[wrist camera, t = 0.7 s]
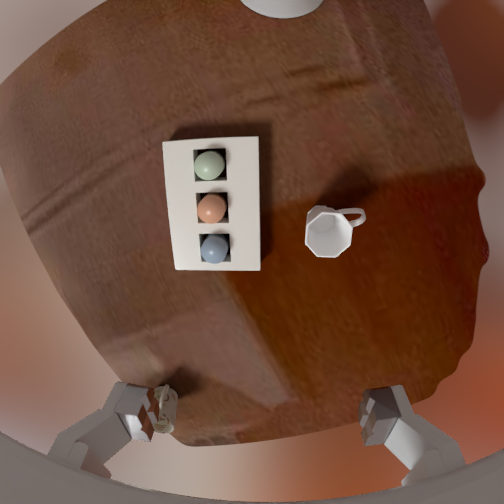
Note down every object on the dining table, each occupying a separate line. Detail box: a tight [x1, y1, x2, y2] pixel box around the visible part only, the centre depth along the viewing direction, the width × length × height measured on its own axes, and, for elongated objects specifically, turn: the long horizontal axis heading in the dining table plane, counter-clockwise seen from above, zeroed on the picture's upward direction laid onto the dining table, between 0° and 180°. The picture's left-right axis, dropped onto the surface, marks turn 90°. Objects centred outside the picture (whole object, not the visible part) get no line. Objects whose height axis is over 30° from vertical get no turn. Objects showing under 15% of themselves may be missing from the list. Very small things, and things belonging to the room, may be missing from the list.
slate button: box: [201, 234, 229, 264], centre depth 47 cm, size 4×4×3 cm
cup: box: [305, 205, 366, 257], centre depth 44 cm, size 7×10×8 cm
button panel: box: [162, 136, 261, 270], centre depth 46 cm, size 21×14×3 cm
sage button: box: [194, 151, 225, 180], centre depth 42 cm, size 4×4×3 cm
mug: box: [153, 384, 178, 433], centre depth 62 cm, size 8×13×10 cm, turn 166°
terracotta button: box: [197, 193, 227, 224], centre depth 45 cm, size 4×4×3 cm
